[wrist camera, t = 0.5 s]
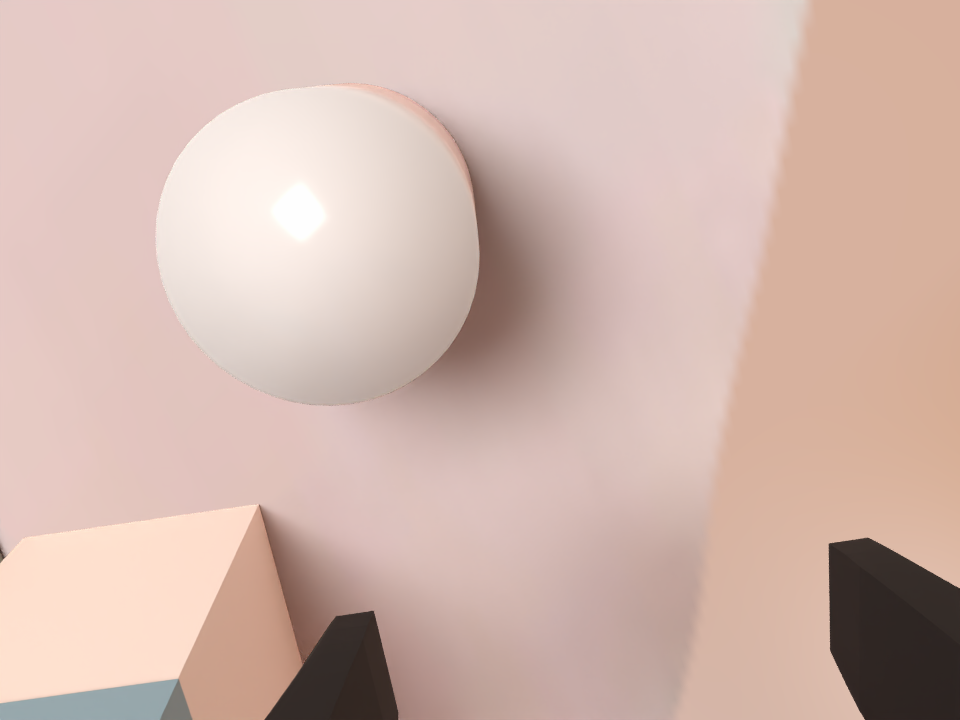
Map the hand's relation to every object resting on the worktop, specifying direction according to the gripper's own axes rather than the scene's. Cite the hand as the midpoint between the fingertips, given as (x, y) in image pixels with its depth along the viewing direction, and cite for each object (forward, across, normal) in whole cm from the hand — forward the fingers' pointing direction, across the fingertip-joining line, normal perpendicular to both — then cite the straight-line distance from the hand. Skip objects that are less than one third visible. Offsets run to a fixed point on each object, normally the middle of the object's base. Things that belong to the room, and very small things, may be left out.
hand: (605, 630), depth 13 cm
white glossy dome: (+10, +4, -6) cm, 13 cm away
